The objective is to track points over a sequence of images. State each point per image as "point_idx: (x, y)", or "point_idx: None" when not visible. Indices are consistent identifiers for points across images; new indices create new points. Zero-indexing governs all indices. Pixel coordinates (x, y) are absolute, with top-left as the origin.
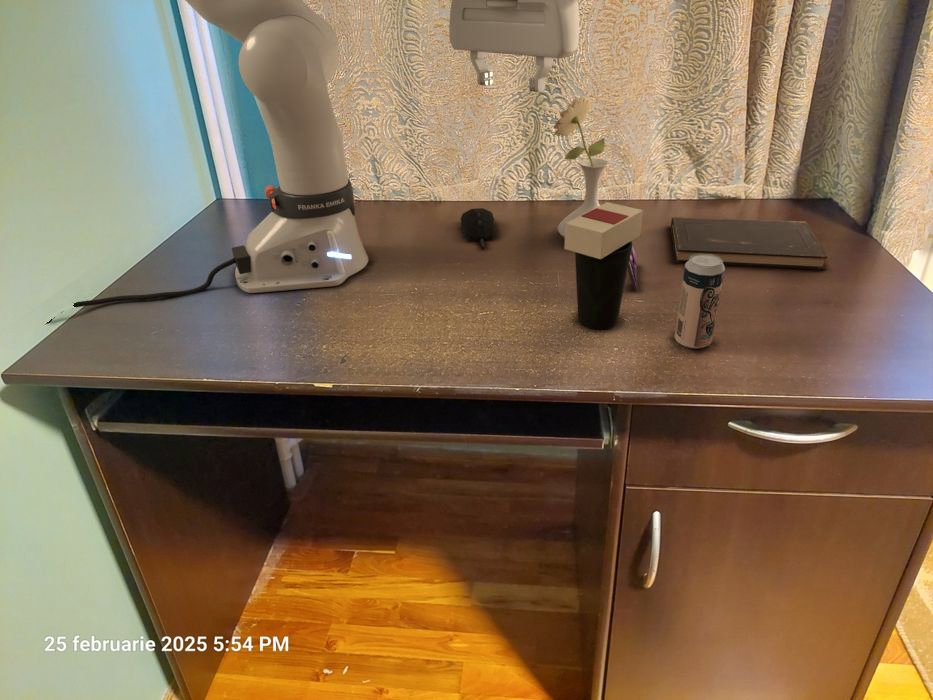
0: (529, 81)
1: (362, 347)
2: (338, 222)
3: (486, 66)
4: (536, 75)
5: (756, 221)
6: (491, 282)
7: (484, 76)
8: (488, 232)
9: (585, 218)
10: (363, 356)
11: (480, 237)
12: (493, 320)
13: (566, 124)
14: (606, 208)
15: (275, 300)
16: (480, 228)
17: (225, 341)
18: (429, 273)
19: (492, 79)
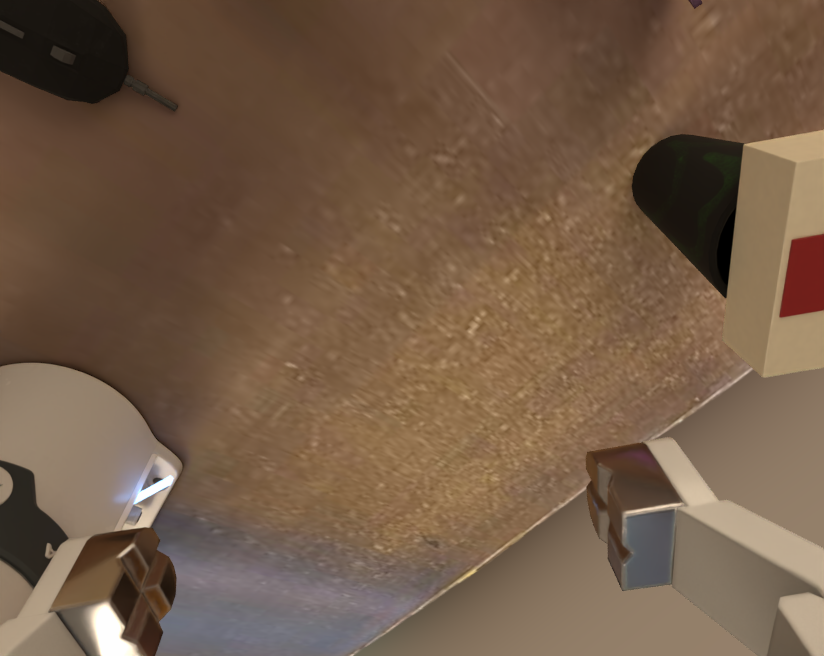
0: (613, 568)
1: (420, 514)
2: (84, 525)
3: (21, 653)
4: (710, 604)
5: None
6: (373, 229)
7: (156, 644)
8: (110, 46)
9: (798, 320)
10: (444, 522)
11: (119, 82)
12: (508, 329)
13: None
14: (821, 213)
15: (175, 550)
16: (86, 65)
17: (270, 624)
18: (237, 306)
19: (132, 546)
